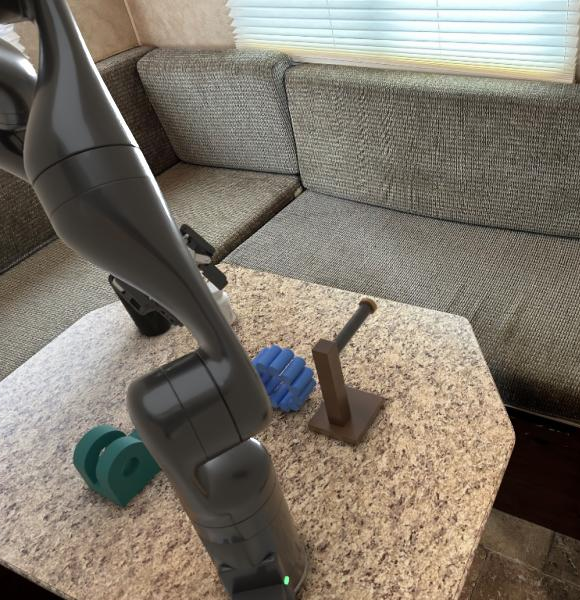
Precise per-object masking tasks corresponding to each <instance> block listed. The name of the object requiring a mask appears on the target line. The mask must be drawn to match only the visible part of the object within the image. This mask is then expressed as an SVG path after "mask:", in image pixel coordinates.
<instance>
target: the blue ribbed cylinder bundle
mask: <svg viewBox="0 0 580 600" xmlns="http://www.w3.org/2000/svg"><path fill="white" fill-rule="evenodd" d="M251 361H252V363H253V365H254V366H255V368H256V370H257V372H258V374H259V375H260V377H261V379H262V381H263V384H264V386H265V388H266V390H267V393H268V395H269V398H270V402H271V405H272V409H279V408H280V410H281V411H283V412H285V413H289V412H290V411H291V410H292V411H294V412H298V411H299V410H300V408H301V407H302V406H303V405H304V403H305V402H306V401H307V400H308V398H309V397H310V395H311V394H312V392H313V391H314V389H315V388H316V386H317V384H318V383H317V380H316V379H315V378H314V376H315V371H314V370H313V369H312V368H311V367H309V366H307V362H306V360H305V359H304V358H303V357H301V356H299V355H296V356H295V353H294V351H293V350H292V349H290V348H287V347H285V348H282V347H280V346H279V345H277V344H272V345H271V346H270V347H268V346H265V347H263V348H262V349H261V350H260V351H259V353H257V355H256V356H255V357H254V358H253V359H252V360H251Z"/></svg>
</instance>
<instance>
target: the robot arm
mask: <svg viewBox="0 0 580 600" xmlns="http://www.w3.org/2000/svg"><path fill="white" fill-rule="evenodd" d="M24 22H25V23H26V22H29V23H31V24H32V25H33V26H34V28H35V30H36V32H37V39H38V62H37V65H38V66H37V71H36V69H35V67H34V66H33V64H32V63H31V61H30V60H29V59H28V57H27V56H26V55H25V54H24V53H23V52H22V51H21V50H19V49H18V48H17V47H16V46H15V45H13V44H12V43H10V42H9V41H7V40H5V39H4V38H2V37H0V169H1V170H3V171H6V172H8V173H10V174H12V175H13V176H15V177H18V178H19V179H21V180H23V181H24V182H27V183H28V184H29V185H31V187H32V189H33V190H34V193H35V195H36V197H37V198H38V200H39V202H40V204H41V206H42V208H43V211H44V212H45V214H46V216H47V218H48V220H49V222H50V224H51V226H52V228H53V230H54V232H55V233H56V235H57V236H58V238H59V239H60V240H61V241H62V243H64V244H65V245H66V247H68V248H69V249H70V250H71V251H72V252H74V253H75V254H76V255H78V256H79V257H81V258H82V259H84V260H85V261H87V262H89V264H90V263H91V264H92V265H94V266H95V267H97V268H98V269H100V270H102V271H104V272H106V273H108V275H110V274H111V275H113V276H115V278H114V280H113V282H112V284H111V285H112V286H111V285H110V286H111V288H112V287H113V288H114V289H115V290H116V291H117V292H118V293H119V294H120V295H121V296H122V297H123V298H124V299H125V300H126V301H127V302H128V303H129V304H130V305H131V306H132V307H133V308H134V309H135V310H136V311H137V312H138V313H139V314H140V315H146V314H147V313H149V312H151V311H158V312H159V313H160V314H161V315H163V316H164V317H165V318H166V319H167V320H168V321H169V322H170V323H171V324H172V325H173V326H175V327H177V326H179V327H181V328H183V327H185V328H186V329H187V331H188V332H189V333H190V334H191V335H192V336H193V338H194V339H195V341H196V342H197V345H199V347H198V348H197V349H194V350H193V351H190V352H188V353H186V354H184V355H182V356H180V357H177V358H175V359H173V360H171V361H168V362H167V363H165V364H163V365H161V366H159V367H157V368H155V369H152V370H150V371H148V372H146V373H144V374H142V375H140V376H138V377H136V378H135V379H134V380H132V381H131V382H130V383H129V385H128V387H127V389H126V394H125V403H126V408H127V412H128V416H129V418H130V421H131V423H132V425H133V427H134V430H135V429H136V431H137V433H138V435H139V437H140V438H141V440H142V442H143V443H144V445H145V447H146V448H147V450H148V451H149V453H150V454H151V456H152V457H153V458H154V460H155V461H156V463H157V464H158V466H159V467H160V471H161V472H162V473H163V475H164V476H165V478H166V480H167V481H168V483H169V484H170V485H171V487H172V490H173V491H174V493H175V495H176V497H177V499H178V501H179V503H180V505H181V507H182V509H183V511H184V513H185V514H186V516H187V518H188V519H189V522H190V523H191V525H192V527H193V529H194V530H195V531H194V532H196V534H197V536H198V538H199V540H200V541H201V544H202V546H203V547H204V549H205V551H206V552H207V554H208V556H209V558H210V560H211V561H212V563H213V566H214V567H215V569H216V570H217V571H216V572H217V577H218V578H219V581H220V582H221V584H222V585H223V587H224V589H225V591H226V593H227V594H228V596H229V598H230V600H296V596H297V593H298V592H299V591H300V590H301V588H302V586H303V584H304V583H305V580H306V578H307V574H308V569H309V561H308V560H309V559H308V555H307V552H306V549H305V547H304V545H303V543H302V541H301V538H300V534H299V533H298V530H297V526H296V524H295V522H294V519H293V515H292V513H291V510H290V508H289V505H288V502H287V499H286V496H285V492H284V491H283V488H282V484H281V482H280V479H279V477H278V473H277V471H276V467H275V465H274V462H273V460H272V457H271V454H270V452H269V451H268V448H267V447H266V446H265V445H264V444H263V443H262V442H261V441H260V440H259V439H257V438H255V437H256V436H257V435H259V434H261V433H263V432H264V431H265V430H266V429H269V427H270V426H271V424H272V422H273V417H274V413H273V407H272V405H271V402H270V397H269V395H268V393H267V390H266V388H265V386H264V384H263V381H262V379H261V377H260V375H259V374H258V372H257V370H256V368H255V366H254V365H253V363H252V361H253V360H252V359H251V358H250V356H249V354H248V352H247V350H246V349H245V347H244V345H243V344H242V342H241V340H240V338H239V337H238V335H237V333H236V332H235V330H234V329H233V327H232V325H230V323H229V321H228V320H227V318H226V316H225V315H224V313H223V311H222V309H221V308H220V306H219V304H218V303H217V301H216V299H215V298H214V296H213V294H212V292H211V291H210V289H209V287H208V285H207V282H206V280H207V281H209V282H211V283H212V284H213V285H214V286H215V287H216V288H218V289H219V290H223V291H224V289H225V288H226V287H227V286H228V285H229V281H228V277H227V276H226V274H225V273H224V272H223V271H222V270H220V268H218V267H217V266H216V265H215V264H214V263H213V262H212V260H213V257H214V255H215V253H216V251H217V249H216V248H215V247H214V246H213V245H212V244H211V243H210V242H209V241H207V240H206V239H205V238H204V237H203V236H202V235H201V234H199V233H198V232H197V231H196V230H195V229H193V228H192V227H191V226H190V225H189V224H187V223H182V224H181V225H180V226H179V227H178V224H177V222H176V220H175V218H174V216H173V213H172V211H171V208H170V207H169V205H168V202H167V200H166V198H165V197H164V194H163V192H162V190H161V188H160V186H159V184H158V182H157V180H156V178H155V176H154V174H153V172H152V170H151V168H150V166H149V164H148V162H147V160H146V158H145V156H144V154H143V152H142V150H141V148H140V146H139V145H138V143H137V141H136V139H135V137H134V136H133V133H132V132H131V130H130V128H129V126H128V125H127V123H126V121H125V119H124V117H123V116H122V114H121V112H120V110H119V108H118V106H117V104H116V103H115V101H114V99H113V97H112V94H111V93H110V91H109V89H108V87H107V85H106V84H105V82H104V80H103V78H102V76H101V74H100V71H99V70H98V68H97V66H96V64H95V62H94V60H93V58H92V56H91V54H90V51H89V49H88V47H87V45H86V43H85V40H84V38H83V35H82V33H81V30H80V28H79V26H78V24H77V22H76V19H75V17H74V15H73V13H72V10H71V8H70V6H69V4H68V1H67V0H0V27H1V26H6V25H12V24H18V23H24ZM204 277H205V278H206V280H205V279H204ZM113 288H112V289H113ZM142 292H143V293H144V294H146V295H147V296H149V298H150V300H149V299H148V298H147V297H146V296H145V295H144V294H143V293H142Z"/></svg>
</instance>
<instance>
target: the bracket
mask: <svg viewBox="0 0 580 600" xmlns="http://www.w3.org/2000/svg"><path fill="white" fill-rule="evenodd" d="M72 464H73V466H74V468H75V470H76V472H78V474H79V475H80V477H81V479H82V480H83V482H84V483H85V484H86V485H87V487H88V488H89V489H90V490H92V491H93V492H95V493H96V494H99V495H101V496H102V497H104V498H106V499H107V500H109V501H111V502H112V503H114V504H116V505H118V506H119V507H121V508H123V509H124V508H125V507H126V506H127V505H128V504H129V503H130V502H131V500H133V498H135V496H136V495H137V494H139V492H140V491H142V489H143V488H144V487H145V486H146V485H147V484H148V483H149V482H150V481H151V480H152V479H153V478H154V477H155V476H156V475H157V474H158V473H159V472H160V471H161V469H160V467H159V466H158V464H157V463H156V461H155V460H154V458H153V457H152V456H151V454H150V453H149V451H148V450H147V448H146V447H145V445H144V443H143V442H142V440H141V438H140V437H139V435H138V433H137V431H136V429H135V428H134V429H133V430H132V431H131V432H130V433H129V434H128V435H127V434H126V433H125V432H124V431H122V430H120V429H118V428H115V427H114V426H112V425H109V424H100V425H96V426H94V427H93V428H91V429H90V430H88V431H86V432H85V433H84V435H82V437H80V439H79V440H78V442H77V444H76V446H75V447H74V451H73V454H72Z"/></svg>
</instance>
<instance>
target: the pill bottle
mask: <svg viewBox="0 0 580 600" xmlns="http://www.w3.org/2000/svg"><path fill="white" fill-rule="evenodd" d="M206 284H207V285H208V287H209V289H210V291H211V292H212V294H213V296H214V298H215V299H216V301H217V303H218V304H219V306H220V308H221V309H222V311H223V313H224V315H225V316H226V318H227V320H228V321H229V323H230V325H231V326H233V324H234V323H235V321H236V315H235V311H234V310H233V309H234V308H233V307H232V303H231V301H230V297H229V294H227V292H225V291H224V289H223V290H219V289H218V288H216V287H215V286H214V285H213V284H212V283H211V282H210V281H209V282H206Z"/></svg>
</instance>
